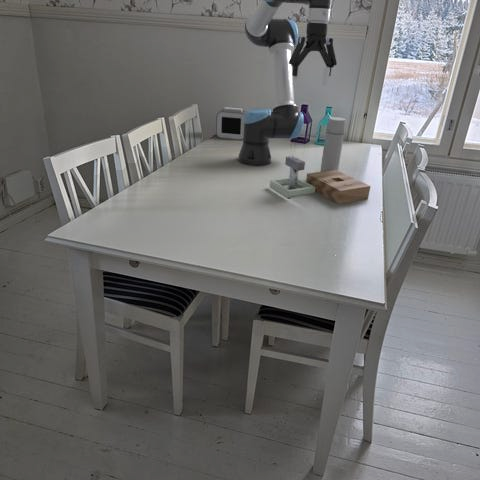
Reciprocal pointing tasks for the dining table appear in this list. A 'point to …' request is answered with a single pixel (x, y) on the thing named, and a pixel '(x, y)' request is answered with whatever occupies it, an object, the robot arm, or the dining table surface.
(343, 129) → the water bottle
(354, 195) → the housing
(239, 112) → the grey monitor with handle
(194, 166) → the dining table surface
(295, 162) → the t key
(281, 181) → the tray
